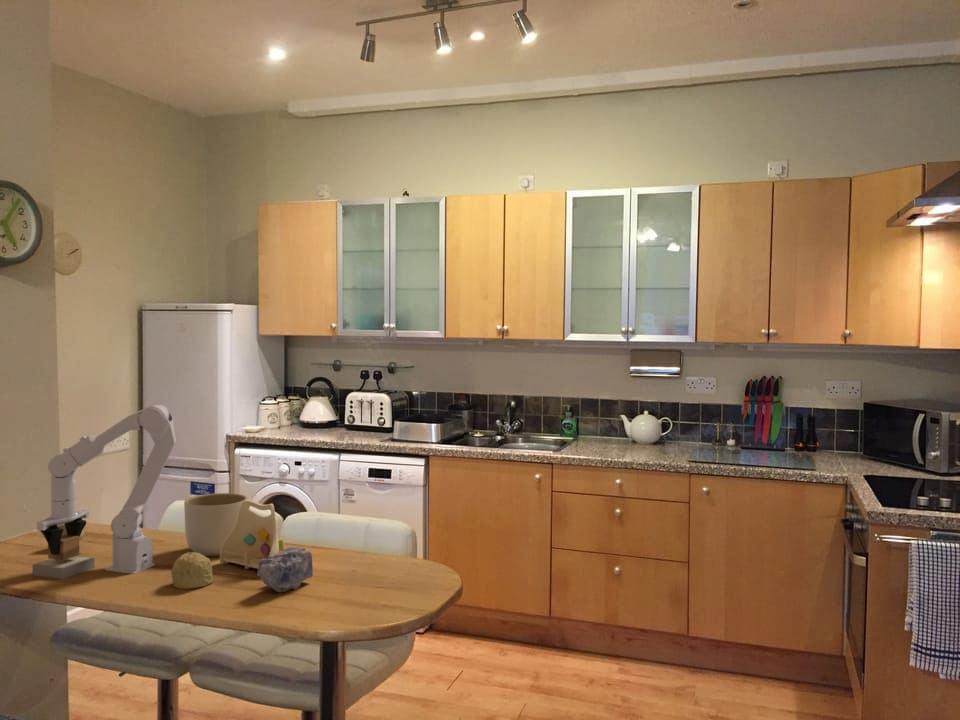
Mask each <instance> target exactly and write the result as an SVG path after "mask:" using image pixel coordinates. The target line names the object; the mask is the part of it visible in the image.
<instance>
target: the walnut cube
mask: <svg viewBox="0 0 960 720" xmlns="http://www.w3.org/2000/svg"><path fill="white" fill-rule="evenodd" d="M47 554H48V555H47V556H48V559H56V560H66V559H69V558H72V557H75V556H80V541H79V536H73V535H65V534H64V535H62V536H61V541H60V552H59V554H58V555H54V554H51V552H50V549H49V545H48V544H47ZM48 559H47V560H48Z"/></svg>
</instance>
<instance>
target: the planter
mask: <svg viewBox="0 0 960 720" xmlns="http://www.w3.org/2000/svg"><path fill="white" fill-rule="evenodd" d="M245 500H248V497H247V496H245V495H244V494H241V493H232V492H231V493H230V492H229V493H227V492H224V493H221V492H217V493H208V494H207V493H206V494H205V493H204V494H200V495H195V496H192V497H188V498H186V499H185V500H184V509H183V510H184V511H183V512H184V533H185V540H186V544H187V546H188V548H189V549H190V550H191V552H195V553H200V554H202V555H204V556H205V557H220V551H221V548H222V545H223V543H224V541H225V540H226V539H227V538H228V536H229V535H230V534H231V533H232V532H233V530H234V528H235V526H236V524H237V520H238V514H239V510H240V507H241V504H242V503H243V502H244V501H245Z"/></svg>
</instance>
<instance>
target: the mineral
mask: <svg viewBox="0 0 960 720" xmlns="http://www.w3.org/2000/svg"><path fill="white" fill-rule="evenodd" d="M258 565H259V567H258V569H257V573H256V574H257V576H259V577H260V580H261V582H262V583H264V584H265V585H267V586H268V587H269V588H270V589H273V590H274V591H275V592H277V593H282V592H283V593H284V592H287V591H289V590H297V589H299V588H300V586H301V584H302V582H304V581H306V580H307V579H311V578H313V576H314V570H313V555H312V552H311V550H306V549H305V547H298V546H297V547H296V546H289V547H286V548H285V549H284V550H283V551H280V552H279V553H277V554H274V555H271V556H269V557H268V558H267V559H261V560H260V561H259V564H258Z"/></svg>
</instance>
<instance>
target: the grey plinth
mask: <svg viewBox="0 0 960 720" xmlns="http://www.w3.org/2000/svg"><path fill="white" fill-rule="evenodd" d="M95 559H96V558H95V557H92V556H83V555H78V556H75V557H72V558H69V559H66V560H56V559H46V560H42V561H39V562H36V563H33V564H31V566H32V576H37V577H42V578H52V579H58V580H59V579H61V580H64V579H67V578H70V577H73V576H75V575H78V574H81V573H84V572H87V571H90V570H92V569H95V567H96V566H95V563H96V561H95Z"/></svg>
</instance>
